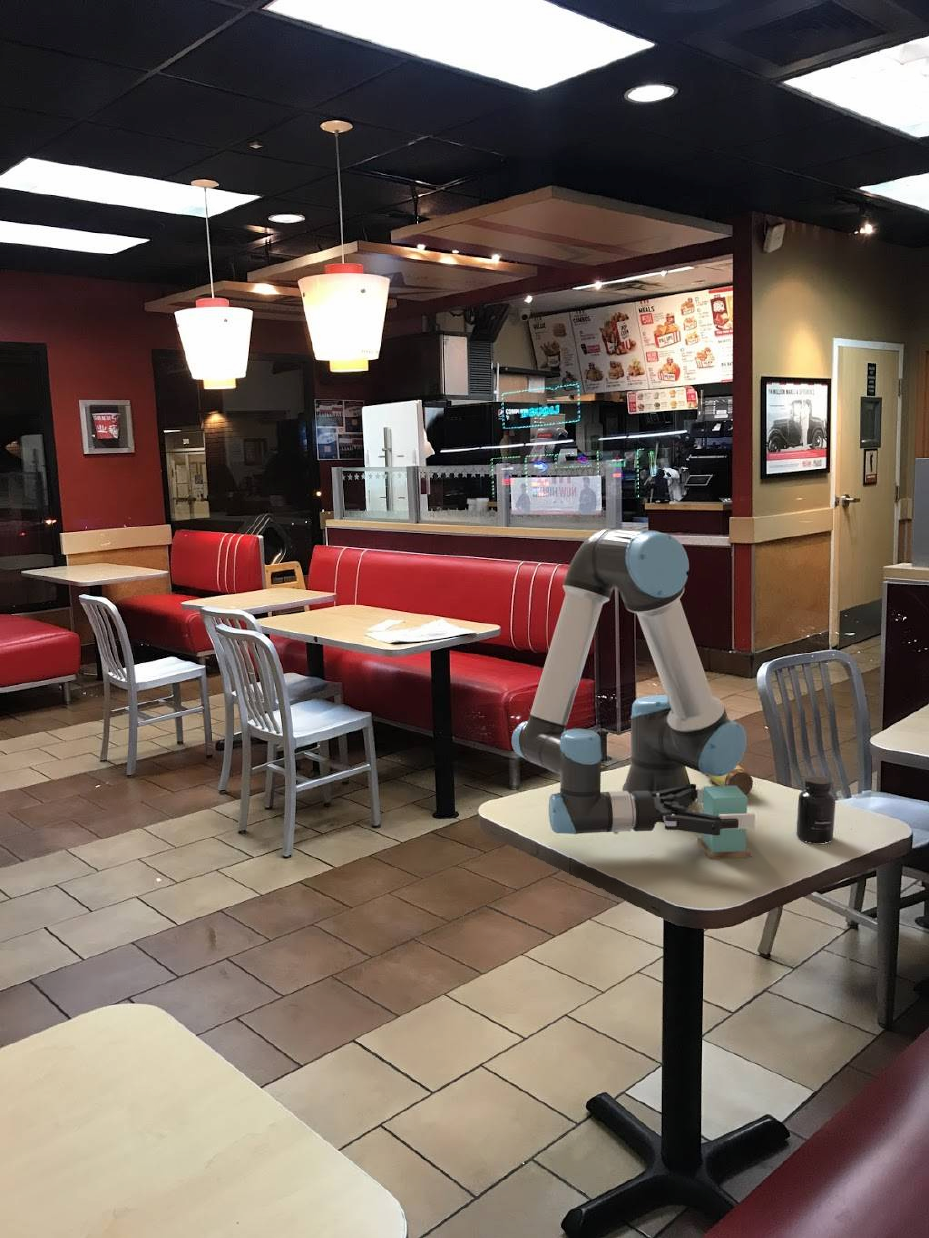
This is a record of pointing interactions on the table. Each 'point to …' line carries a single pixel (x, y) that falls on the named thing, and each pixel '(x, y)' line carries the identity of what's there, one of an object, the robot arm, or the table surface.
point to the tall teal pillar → (725, 803)
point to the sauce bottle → (735, 779)
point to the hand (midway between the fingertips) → (741, 807)
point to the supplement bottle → (816, 811)
